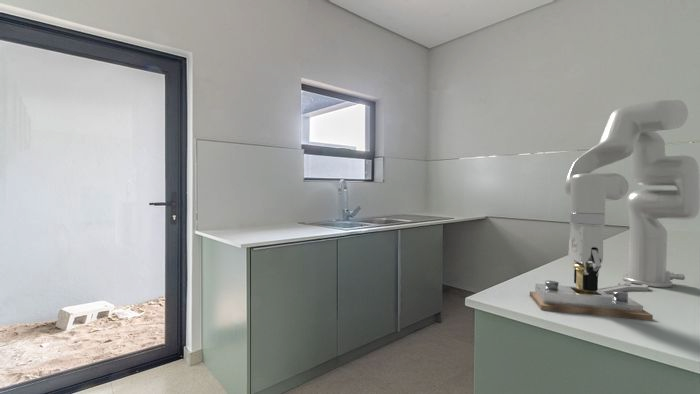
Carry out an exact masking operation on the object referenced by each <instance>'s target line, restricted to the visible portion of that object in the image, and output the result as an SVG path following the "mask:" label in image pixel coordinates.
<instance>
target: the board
mask: <svg viewBox="0 0 700 394" xmlns="http://www.w3.org/2000/svg"><path fill="white" fill-rule="evenodd" d="M529 297H530V298H531V299H532V300H533V301H534V303H535V304H536V305H537V307H538V308H539V309H540V310H541V311H551V312H560V313H563V312H564V313H572V314H573V313H574V314H583V315H594V316H604V317H613V318H625V319H636V320H644V321H645V320H647V321H654V320H653V319H654V318H653V317H654V316H653V314H651V313H650V312H648V311H646V310H645V309H643V312H638V311H627V310H615V309H604V308H593V307H582V306H571V305H560V304H549V303H543V302H542V301H541V300H540V299H539V297H538V296H537V295H536V294H535V291H529Z"/></svg>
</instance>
